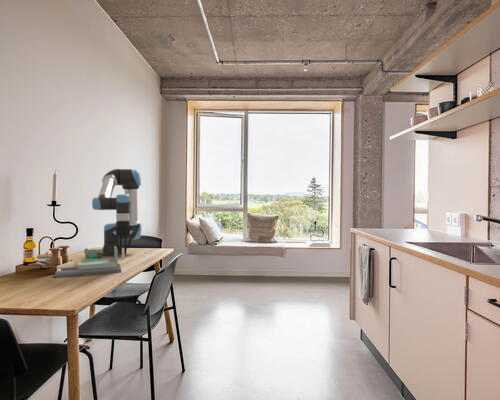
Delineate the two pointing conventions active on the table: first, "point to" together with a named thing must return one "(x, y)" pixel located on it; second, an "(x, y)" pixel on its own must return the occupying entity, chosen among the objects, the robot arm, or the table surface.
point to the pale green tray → (99, 262)
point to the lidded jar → (43, 257)
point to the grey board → (85, 271)
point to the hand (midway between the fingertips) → (122, 259)
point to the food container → (92, 254)
